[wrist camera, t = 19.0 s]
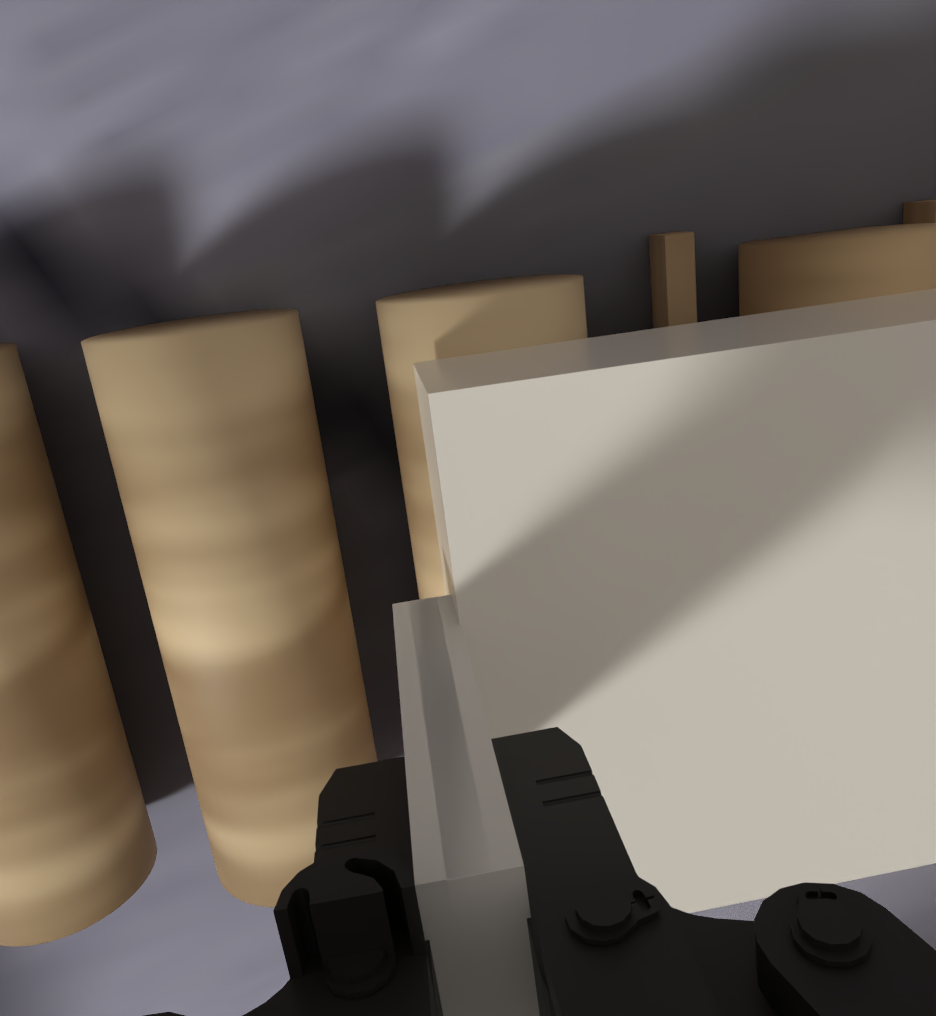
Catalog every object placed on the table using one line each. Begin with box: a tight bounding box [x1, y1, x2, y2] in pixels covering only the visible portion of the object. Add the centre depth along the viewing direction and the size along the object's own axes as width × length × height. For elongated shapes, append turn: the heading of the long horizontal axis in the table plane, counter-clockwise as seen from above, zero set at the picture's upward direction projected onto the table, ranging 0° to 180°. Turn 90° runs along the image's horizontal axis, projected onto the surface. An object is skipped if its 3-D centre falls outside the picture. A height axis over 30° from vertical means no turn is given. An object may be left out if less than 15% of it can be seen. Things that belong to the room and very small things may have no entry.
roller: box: [738, 223, 936, 316], centre depth 19 cm, size 12×4×4 cm
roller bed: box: [0, 199, 936, 946], centre depth 19 cm, size 13×27×4 cm, turn 97°
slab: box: [413, 288, 936, 913], centre depth 16 cm, size 10×12×3 cm
